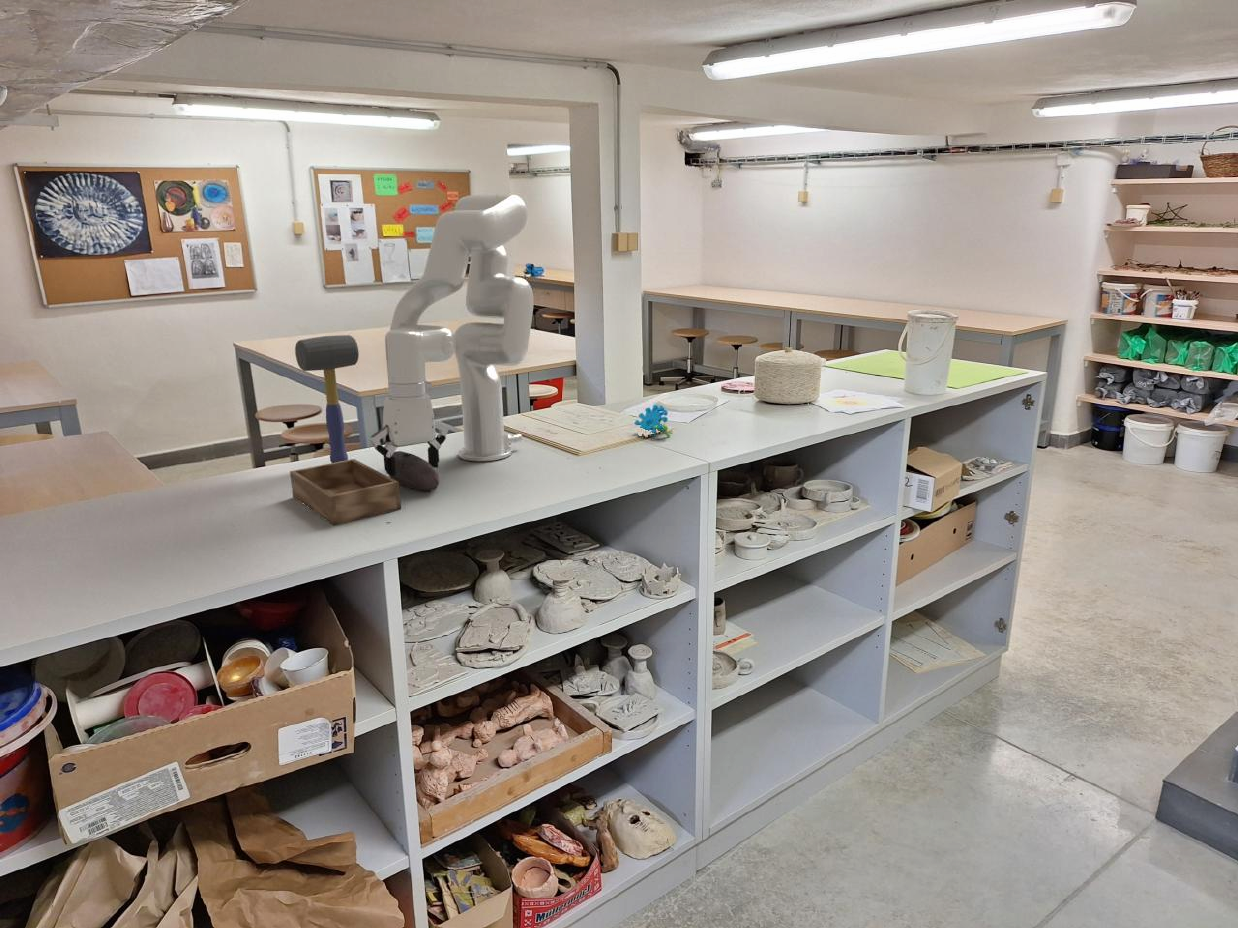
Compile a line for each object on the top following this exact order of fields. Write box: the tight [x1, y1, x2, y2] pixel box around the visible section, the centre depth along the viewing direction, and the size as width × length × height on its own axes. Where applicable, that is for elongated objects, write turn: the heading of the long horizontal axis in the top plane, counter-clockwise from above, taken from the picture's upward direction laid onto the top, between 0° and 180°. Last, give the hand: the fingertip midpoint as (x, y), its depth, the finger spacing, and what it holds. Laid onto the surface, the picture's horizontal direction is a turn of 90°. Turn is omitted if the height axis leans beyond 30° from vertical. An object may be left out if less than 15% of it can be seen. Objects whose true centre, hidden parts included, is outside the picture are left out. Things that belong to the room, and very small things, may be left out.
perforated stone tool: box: [387, 450, 440, 492], centre depth 177 cm, size 15×5×7 cm, turn 48°
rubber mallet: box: [294, 334, 360, 464], centre depth 190 cm, size 12×8×30 cm, turn 130°
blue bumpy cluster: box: [633, 404, 671, 438], centre depth 217 cm, size 11×6×10 cm
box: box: [289, 458, 402, 526], centre depth 167 cm, size 14×22×6 cm, turn 40°
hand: (412, 470), depth 176 cm, fingers open, 9 cm apart
